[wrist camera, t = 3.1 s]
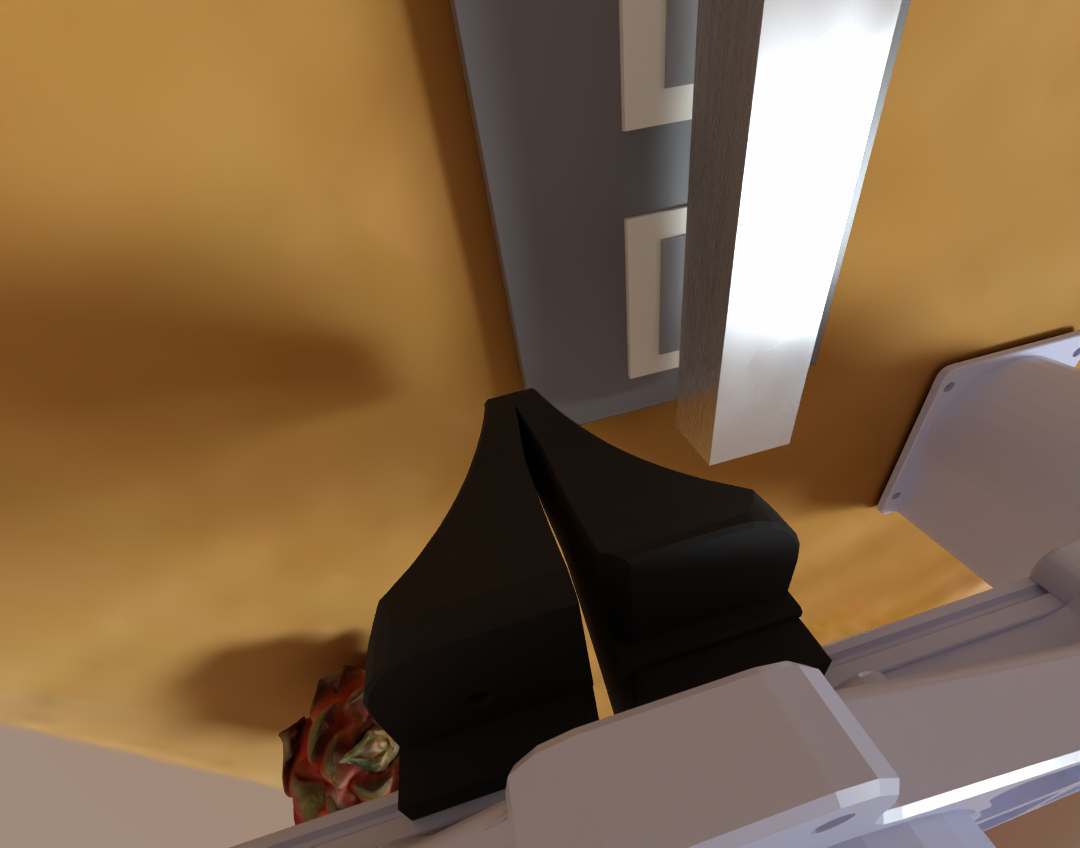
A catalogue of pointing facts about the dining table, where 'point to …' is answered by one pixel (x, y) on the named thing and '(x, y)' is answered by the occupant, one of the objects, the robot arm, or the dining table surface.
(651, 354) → the label plate
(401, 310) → the dining table surface
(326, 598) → the dining table surface
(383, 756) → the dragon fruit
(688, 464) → the dining table surface
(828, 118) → the swing bar
